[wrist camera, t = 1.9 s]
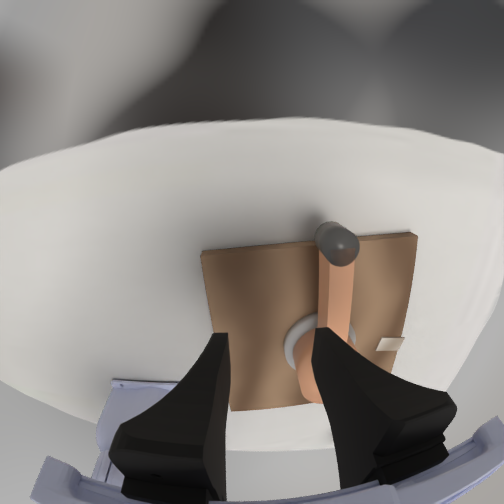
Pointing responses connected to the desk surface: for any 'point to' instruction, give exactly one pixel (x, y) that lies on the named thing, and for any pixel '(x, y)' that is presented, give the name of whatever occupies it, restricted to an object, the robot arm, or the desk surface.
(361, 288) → the walnut base
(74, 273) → the desk surface
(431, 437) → the robot arm
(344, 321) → the wooden tool handle
